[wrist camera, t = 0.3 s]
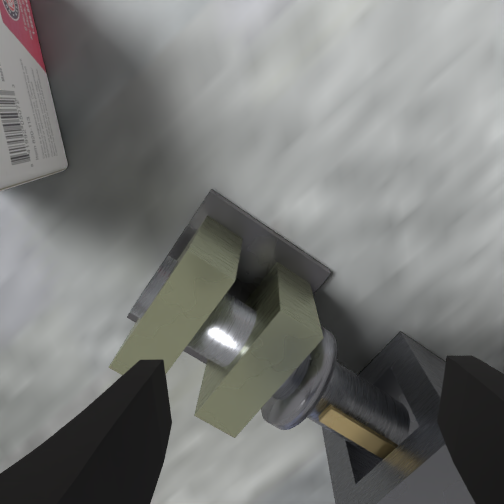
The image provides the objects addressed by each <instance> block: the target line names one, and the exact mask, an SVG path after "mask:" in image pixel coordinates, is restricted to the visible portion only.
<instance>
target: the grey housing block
mask: <svg viewBox="0 0 504 504" xmlns="http://www.w3.org/2000/svg"><path fill="white" fill-rule="evenodd" d="M445 365H446V362H445V361H443V360H442V359H440V358H439V357H437V356H436V355H434V354H433V353H431V352H430V351H428V350H427V349H425V348H424V347H422V346H421V345H419V344H418V343H416V342H415V341H414V340H412V339H411V338H409V337H408V336H406V335H405V334H403V333H402V332H399V333H398V334H397V335H396V336H395V338H394V339H393V340H392V341H391V342H390V343H389V344H388V345H387V346H386V347H385V348H384V349H383V350H382V351H381V352H380V353H379V354H378V355H377V356H376V357H375V358H374V359H373V360H372V361H371V362H370V363H369V364H368V365H367V367H366V368H365V369H364V370H363V371H362V372H361V373H360V374H359V375H358V376H360V377H361V378H363V379H364V380H366V381H368V382H369V383H371V384H372V385H374V386H376V387H377V388H379V389H380V390H382V391H383V392H385V393H387V394H388V395H390V396H391V397H393V398H394V399H396V400H398V401H399V402H401V403H402V404H403V405H404V406H405V407H406V408H407V410H408V413H409V418H410V427H409V432H408V436H407V438H406V439H405V440H404V441H403V442H402V443H401V444H399V445H398V446H397V447H396V448H395V449H394V450H393V451H392V452H391V453H390V454H388V455H387V456H386V457H385V458H384V459H383V460H380V459H376V458H375V457H373V456H371V455H370V454H368V453H366V452H365V451H363V450H361V449H359V448H358V447H356V446H354V445H353V444H351V443H349V442H348V441H346V440H344V439H343V438H341V437H339V436H338V435H336V434H334V433H333V432H331V431H329V430H327V429H326V428H324V427H322V430H323V435H324V441H325V447H326V453H327V458H328V464H329V470H330V475H331V481H332V487H333V492H334V498H335V504H475V502H474V500H473V498H472V496H471V495H470V493H469V491H468V489H467V487H466V485H465V483H464V482H463V480H462V478H461V476H460V474H459V472H458V470H457V468H456V467H455V465H454V463H453V461H452V458H451V456H450V453H449V451H448V448H447V446H446V444H445V441H444V438H443V436H442V433H441V430H440V428H439V425H438V422H437V419H438V412H439V405H440V399H441V392H442V385H443V379H444V372H445Z"/></svg>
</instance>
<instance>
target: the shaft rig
mask: <svg viewBox="0 0 504 504" xmlns="http://www.w3.org/2000/svg"><path fill="white" fill-rule="evenodd" d="M330 274H331V273H330V270H329V269H328V268H327V267H325V266H324V265H322V264H321V263H319V262H318V261H316V260H315V259H314V258H312V257H311V256H309V255H308V254H306V253H305V252H303V251H302V250H300V249H299V248H297V247H296V246H294V245H293V244H292V243H290V242H289V241H287V240H286V239H284V238H283V237H281V236H280V235H278V234H277V233H275V232H274V231H272V230H271V229H269V228H268V227H267V226H265V225H264V224H262V223H261V222H259V221H258V220H256V219H255V218H253V217H252V216H250V215H249V214H247V213H246V212H245V211H243V210H242V209H240V208H239V207H237V206H236V205H234V204H233V203H231V202H230V201H228V200H227V199H225V198H224V197H223V196H221V195H220V194H218V193H217V192H215V191H214V190H212V189H211V191H210V192H209V194H208V195H207V197H206V198H205V200H204V201H203V203H202V204H201V206H200V207H199V209H198V210H197V212H196V213H195V215H194V216H193V218H192V219H191V221H190V222H189V224H188V225H187V227H186V228H185V230H184V231H183V233H182V234H181V236H180V237H179V239H178V241H177V242H176V244H175V245H174V247H173V248H172V250H171V251H170V253H169V254H168V255H167V257H166V258H165V260H164V261H163V263H162V264H161V266H160V267H159V269H158V270H157V272H156V273H155V275H154V276H153V278H152V279H151V281H150V282H149V284H148V285H147V287H146V288H145V290H144V291H143V293H142V294H141V296H140V297H139V299H138V300H137V302H136V303H135V305H134V306H133V308H132V309H131V311H130V313H129V315H128V316H127V318H129V319H131V320H132V321H134V322H136V323H135V325H134V326H133V328H132V330H131V331H130V333H129V335H128V336H127V338H126V340H125V341H124V343H123V344H122V346H121V348H120V349H119V351H118V353H117V354H116V356H115V358H114V359H113V361H112V363H111V364H110V366H109V368H111V369H112V370H114V371H116V372H118V373H120V374H121V375H124V374H125V373H126V372H127V371H128V370H129V369H130V368H131V367H132V366H134V365H135V364H136V363H137V362H138V361H139V360H156V359H163V360H164V367H165V374H166V373H167V372H168V370H169V369H170V368H171V366H172V365H173V364H174V362H175V361H176V360H177V358H178V357H179V356H180V354H181V353H182V352H183V351H185V352H186V353H188V354H190V355H192V356H193V357H195V358H197V359H198V360H200V361H202V362H203V363H205V364H206V368H205V372H204V377H203V381H202V385H201V389H200V394H199V398H198V402H197V406H196V411H195V415H194V416H196V417H198V418H200V419H202V420H203V421H205V422H207V423H209V424H211V425H212V426H214V427H216V428H218V429H219V430H221V431H223V432H225V433H227V434H228V435H230V436H232V437H234V438H235V437H236V436H237V435H238V434H239V433H240V431H241V430H242V429H243V428H244V427H245V426H246V425H247V424H248V422H249V421H250V420H251V419H252V418H253V417H254V416H255V415H256V413H257V412H258V411H259V410H260V409H261V412H262V416H263V418H264V419H265V421H267V422H268V423H270V424H272V425H273V426H275V427H277V428H279V429H281V430H287V429H291V428H293V427H295V426H297V425H298V424H299V423H301V422H302V421H303V420H304V419H305V418H306V417H307V418H309V419H311V420H312V421H314V422H316V423H317V424H319V425H321V426H322V427H324V428H326V429H327V430H329V431H331V432H333V433H334V434H336V435H338V436H339V437H341V438H343V439H344V440H346V441H348V442H349V443H351V444H353V445H354V446H356V447H358V448H359V449H361V450H363V451H365V452H366V453H368V454H370V455H371V456H373V457H375V458H376V459H380V460H383V459H384V458H385V457H386V456H387V455H388V454H390V453H391V452H392V451H393V450H394V449H395V448H396V447H397V446H398V445H399V444H401V443H402V442H403V441H404V440H405V439H406V438H407V436H408V432H409V427H410V418H409V413H408V410H407V408H406V407H405V406H404V405H403V404H402V403H401V402H399V401H398V400H396V399H394V398H393V397H391V396H390V395H388V394H387V393H385V392H383V391H382V390H380V389H379V388H377V387H376V386H374V385H372V384H371V383H369V382H368V381H366V380H364V379H363V378H361V377H360V376H358V375H357V374H355V373H353V372H352V371H350V370H349V369H347V368H346V367H344V366H342V365H341V364H339V363H338V362H336V359H337V342H336V339H335V336H334V335H333V334H332V333H331V332H330V331H328V330H327V329H325V328H324V327H322V326H321V325H320V321H319V317H318V313H317V309H316V305H315V301H314V297H313V294H314V293H315V292H316V291H317V290H318V288H319V287H320V286H321V285H322V284H323V282H324V281H325V280H326V279H327V278H328V276H329V275H330Z"/></svg>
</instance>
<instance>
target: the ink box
mask: <svg viewBox="0 0 504 504" xmlns="http://www.w3.org/2000/svg"><path fill="white" fill-rule="evenodd" d="M67 166H68V162H67V159H66V155H65V150H64V146H63V141H62V137H61V133H60V129H59V124H58V120H57V116H56V112H55V107H54V103H53V99H52V95H51V90H50V86H49V82H48V77H47V74H46V69H45V65H44V62H43V57H42V53H41V48H40V44H39V40H38V35H37V30H36V26H35V23H34V18H33V14H32V9H31V5H30V1H29V0H0V191H3V190H7V189H10V188H13V187H16V186H19V185H22V184H25V183H28V182H32V181H35V180H38V179H41V178H44V177H47V176H50V175H53V174H56V173H59V172H62V171H64V170H65V169H66V168H67Z"/></svg>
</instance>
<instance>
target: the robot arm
mask: <svg viewBox="0 0 504 504" xmlns="http://www.w3.org/2000/svg"><path fill="white" fill-rule="evenodd" d="M437 422H438V425H439V428H440V430H441V433H442V436H443V438H444V441H445V444H446V446H447V448H448V451H449V453H450V456H451V458H452V461H453V463H454V465H455V467H456V468H457V470H458V472H459V474H460V476H461V478H462V480H463V482H464V483H465V485H466V487H467V489H468V491H469V493H470V495H471V496H472V498H473V500H474V502H475V504H504V374H502V373H501V372H499V371H498V370H496V369H494V368H493V367H491V366H489V365H488V364H486V363H484V362H482V361H481V360H479V359H477V358H475V357H473V356H447V358H446V365H445V372H444V379H443V385H442V392H441V399H440V405H439V412H438V419H437ZM171 424H172V420H171V412H170V405H169V397H168V390H167V382H166V375H165V367H164V360H163V359H156V360H139V361H138V362H137V363H136V364H135V365H134V366H132V367H131V368H130V369H129V370H128V371H127V372H126V373H125V374H124V375H123V376H121V377H120V378H119V379H118V380H117V381H116V382H115V383H114V384H113V385H112V386H111V387H109V388H108V389H107V390H106V391H105V392H104V393H103V394H102V395H100V396H99V397H98V398H97V399H96V400H95V401H94V402H92V403H91V404H90V405H89V406H88V407H87V408H86V409H85V410H83V411H82V412H81V413H80V414H79V415H77V416H76V417H75V418H74V419H72V420H71V421H70V422H69V423H67V424H66V425H65V426H64V427H63V428H61V429H60V430H59V431H58V432H56V433H55V434H54V435H53V436H51V437H50V438H49V439H48V440H46V441H45V442H44V443H43V444H41V445H40V446H39V447H37V448H36V449H35V450H33V451H32V452H30V453H29V454H28V455H26V456H25V457H24V458H22V459H21V460H19V461H18V462H16V463H15V464H14V465H12V466H11V467H9V468H8V469H6V470H5V471H3V472H2V473H1V474H0V504H150V502H151V499H152V496H153V493H154V490H155V487H156V484H157V481H158V478H159V475H160V472H161V469H162V466H163V463H164V459H165V454H166V449H167V445H168V440H169V435H170V430H171Z"/></svg>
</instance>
